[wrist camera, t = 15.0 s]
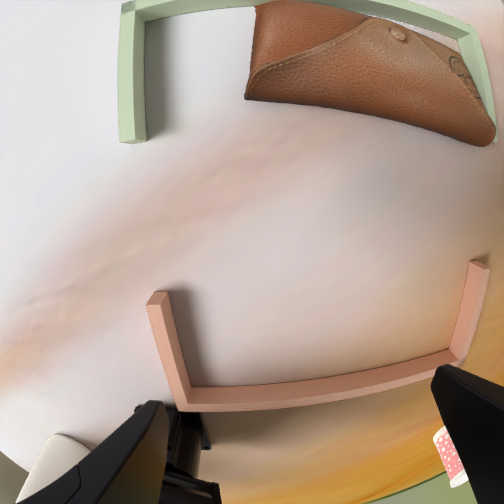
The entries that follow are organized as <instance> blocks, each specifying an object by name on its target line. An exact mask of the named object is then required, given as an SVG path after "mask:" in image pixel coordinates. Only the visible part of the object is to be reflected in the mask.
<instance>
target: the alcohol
mask: <svg viewBox="0 0 504 504" xmlns="http://www.w3.org/2000/svg"><path fill="white" fill-rule="evenodd" d="M90 452H91V450H90V449H88V448H87V447H85V446H84V445H82V444H81V443H79V442H77V441H76V440H74V439H71V438H69V437H67V436H64V435H59V434H57V435H53V436H51V437H49V438H48V440H47V442H46V444H45V445H44V447H43V449H42V451H41V453H40V455H39V456H38V458H37V460H36V462H35V464H34V466H33V468H32V470H31V472H30V474H29V476H28V478H27V480H26V482H25V484H24V486H23V488H22V490H21V492H20V494H19V496H18V498H17V500H16V503H18V502H20V501H22V500H24V499H26V498H27V497H29V496H31V495H32V494H34V493H36V492H38V491H39V490H41V489H43V488H44V487H46V486H47V485H49V484H50V483H52V482H53V481H55V480H56V479H58V478H59V477H61V476H62V475H63V474H64V473H66V472H67V471H68V470H70V469H71V468H72V467H73V466H74V465H76V464H78V462H79V461H80V460H82V459H83V458H84V457H85V456H86V455H88V454H89V453H90Z"/></svg>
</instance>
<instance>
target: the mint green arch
mask: <svg viewBox="0 0 504 504" xmlns="http://www.w3.org/2000/svg"><path fill="white" fill-rule="evenodd" d="M270 1H273V0H133V1H130V2H126V3H123V4H122V8H121V17H120V29H119V45H118V83H117V84H118V124H119V141H120V142H121V143H128V144H135V143H140V142H146V141H147V135H146V119H145V97H144V31H145V22H148V21H152V20H156V19H160V18H165V17H170V16H174V15H180V14H185V13H191V12H197V11H204V10H211V9H220V8H230V7H243V6H257V5H260V4H263V3H266V2H270ZM300 1H307V2H313V3H318V4H324V5H329V6H334V7H338V8H342V9H347V10H350V11H354V12H360V13H365V14H371V15H376V16H380V17H385V18H389V19H394V20H398V21H402V22H405V23H409V24H412V25H416V26H419V27H422V28H426V29H429V30H432V31H435V32H438V33H440V34H443V35H446V36H449V37H451V38H454V39H456V40H457V41H458V45H459V48H460V52H461V56H462V58H463V61H464V63H465V65H466V67H467V69H468V70H469V72H470V74H471V76H472V78H473V81H474V83H475V85H476V87H477V90H478V92H479V94H480V97H481V99H482V101H483V104H484V107H485V109H486V112H487V114H488V115H489V116H490V118H491V119H492V121H493V122H494V124H495V126H496V136H495V138H494V140H493V141H492V142H498V136H497V125H496V116H495V108H494V101H493V95H492V90H491V84H490V79H489V74H488V70H487V66H486V61H485V58H484V54H483V50H482V46H481V43H480V40H479V36H478V33H477V30H476V28H475V27H473V26H471V25H469V24H467V23H465V22H463V21H461V20H458V19H456V18H454V17H452V16H449V15H447V14H444V13H442V12H439V11H437V10H434V9H431V8H429V7H426V6H423V5H420V4H417V3H414V2H411V1H408V0H300Z"/></svg>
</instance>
